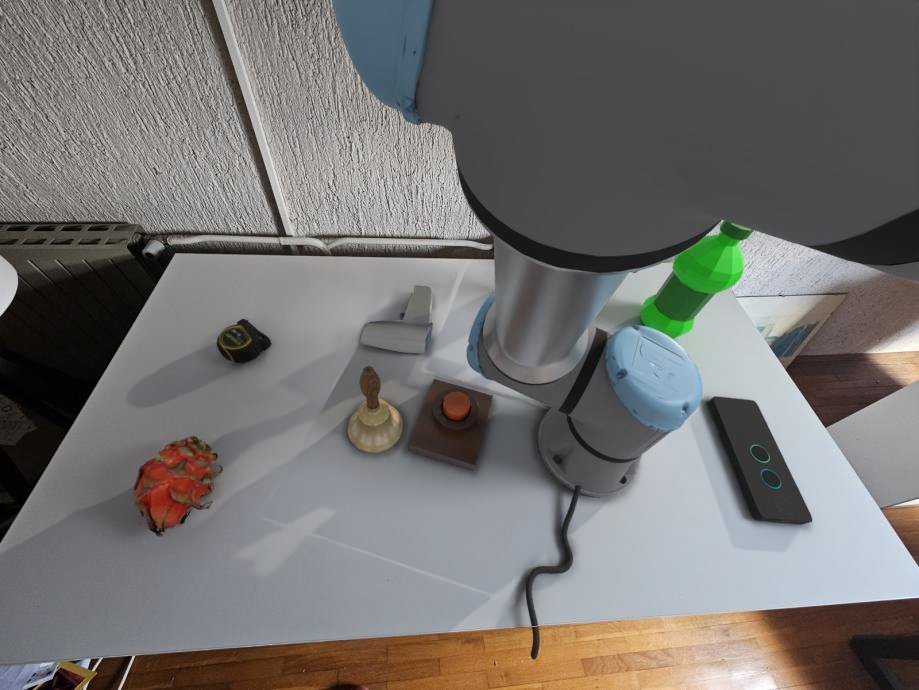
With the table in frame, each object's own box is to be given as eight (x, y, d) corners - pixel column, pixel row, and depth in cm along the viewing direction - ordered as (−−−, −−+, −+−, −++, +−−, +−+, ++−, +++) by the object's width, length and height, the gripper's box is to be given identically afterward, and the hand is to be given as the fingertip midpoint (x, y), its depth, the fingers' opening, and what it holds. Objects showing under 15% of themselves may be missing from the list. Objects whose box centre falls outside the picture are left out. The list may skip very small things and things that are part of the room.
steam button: (465, 424, 56) (466, 418, 55) (439, 416, 56) (439, 410, 55) (471, 401, 59) (473, 395, 57) (446, 394, 59) (447, 388, 57)
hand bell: (410, 411, 60) (411, 352, 48) (391, 460, 55) (385, 407, 43) (362, 396, 61) (349, 334, 49) (338, 443, 56) (317, 386, 43)
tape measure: (276, 349, 65) (270, 335, 62) (239, 374, 61) (230, 360, 58) (252, 328, 67) (245, 313, 64) (215, 350, 63) (205, 336, 61)
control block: (473, 470, 56) (477, 460, 52) (408, 450, 56) (408, 439, 53) (490, 402, 63) (495, 389, 60) (433, 385, 64) (434, 372, 61)
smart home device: (761, 517, 54) (711, 395, 66) (752, 520, 55) (705, 400, 68) (816, 522, 54) (757, 400, 67) (806, 525, 56) (750, 404, 68)
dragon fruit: (221, 446, 55) (192, 539, 50) (151, 435, 51) (108, 536, 45) (238, 435, 50) (207, 537, 44) (161, 420, 45) (114, 533, 39)
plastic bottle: (688, 351, 74) (787, 248, 55) (634, 341, 75) (715, 235, 55) (677, 314, 81) (764, 210, 61) (628, 305, 81) (699, 198, 61)
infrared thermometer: (434, 301, 77) (430, 357, 67) (374, 295, 76) (360, 352, 66) (436, 283, 74) (431, 340, 64) (372, 277, 73) (357, 334, 63)
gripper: (695, 186, 57) (630, 289, 74) (533, 147, 59) (505, 256, 76) (701, 211, 53) (630, 316, 69) (526, 169, 55) (498, 280, 71)
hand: (565, 285), depth 72 cm, fingers open, 13 cm apart
